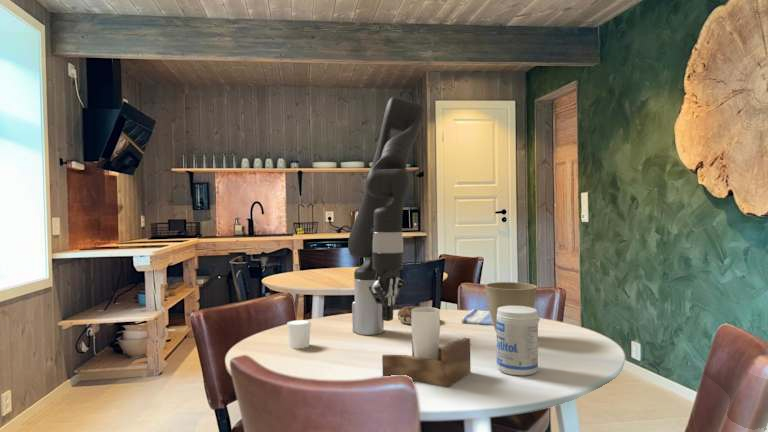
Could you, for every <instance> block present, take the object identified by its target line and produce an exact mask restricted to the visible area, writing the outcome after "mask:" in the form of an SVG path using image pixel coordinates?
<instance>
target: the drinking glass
mask: <svg viewBox="0 0 768 432" xmlns="http://www.w3.org/2000/svg"><path fill="white" fill-rule="evenodd" d="M440 314H441V313H440V309H439V308H437V307H431V306H424V307H423V306H422V307H421V306H419V308H414V309H412V310H411V324H410V327H411V337H412V341H413V348H414V357H420V358H426V359H432V360H438V349H439V347H440V346H439V345H440V334H441V333H440V331H441V317H440V316H441V315H440Z"/></svg>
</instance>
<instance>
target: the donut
mask: <svg viewBox="0 0 768 432" xmlns="http://www.w3.org/2000/svg"><path fill="white" fill-rule="evenodd" d="M419 307H425V306H424V305H423V306H422V305H421V306H419V305H418V306H413V305H411V306H403V307H402V308H400V309H399V310H398V312H397V318H398V321H400V322H401V323H402V324H406V325H411V310H412V309H414V308H419Z"/></svg>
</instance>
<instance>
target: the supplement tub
mask: <svg viewBox="0 0 768 432" xmlns="http://www.w3.org/2000/svg"><path fill="white" fill-rule="evenodd" d="M538 317H539V315H538V310H537V309H536V308H535V307H534V308H531V307H526V306H502V307H499V308H498V309H497V333H496V367H497V369H498V370H499V371H500V372H502V373H504V374H507V375H509V376H510V375H512V376H520V377H521V376H531V375H534V374H535V373H536V372H537V371H538V369H539V368H538V367H539V365H538V364H539V363H538V362H539V359H538V358H539V357H538V356H539V350H538V349H539V318H538Z"/></svg>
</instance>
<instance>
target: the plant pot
mask: <svg viewBox="0 0 768 432" xmlns="http://www.w3.org/2000/svg"><path fill="white" fill-rule="evenodd" d="M484 286H485V292H486V300H487V304H488V311H490V314H491V318H492V321H493V324H494V326H493V327H494V330H495V333H496V334H497V309H498V308H499V307H502V306H526V307H531V308H535V302H536V297H537V289H538V286H537V285H535V284H531V283H526V282H525V283H524V282H512V281H511V282H510V281H509V282H508V281H507V282H506V281H504V282H503V281H502V282H500V281H499V282H498V281H497V282H489V283H485V285H484Z"/></svg>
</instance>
